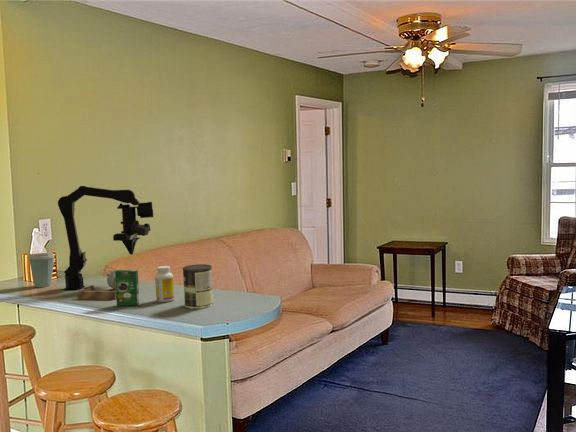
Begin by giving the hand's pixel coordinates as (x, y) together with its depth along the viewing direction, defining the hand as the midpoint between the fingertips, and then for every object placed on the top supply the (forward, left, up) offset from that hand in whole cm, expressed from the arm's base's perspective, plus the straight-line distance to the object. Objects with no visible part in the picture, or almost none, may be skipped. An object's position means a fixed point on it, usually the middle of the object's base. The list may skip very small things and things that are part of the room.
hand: (131, 254), depth 252 cm
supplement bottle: (+29, -29, -13) cm, 43 cm away
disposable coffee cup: (-40, -7, -13) cm, 43 cm away
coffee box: (+18, -37, -13) cm, 43 cm away
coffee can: (+45, -35, -13) cm, 58 cm away
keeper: (0, -23, -13) cm, 26 cm away
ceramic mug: (0, -10, -13) cm, 17 cm away
